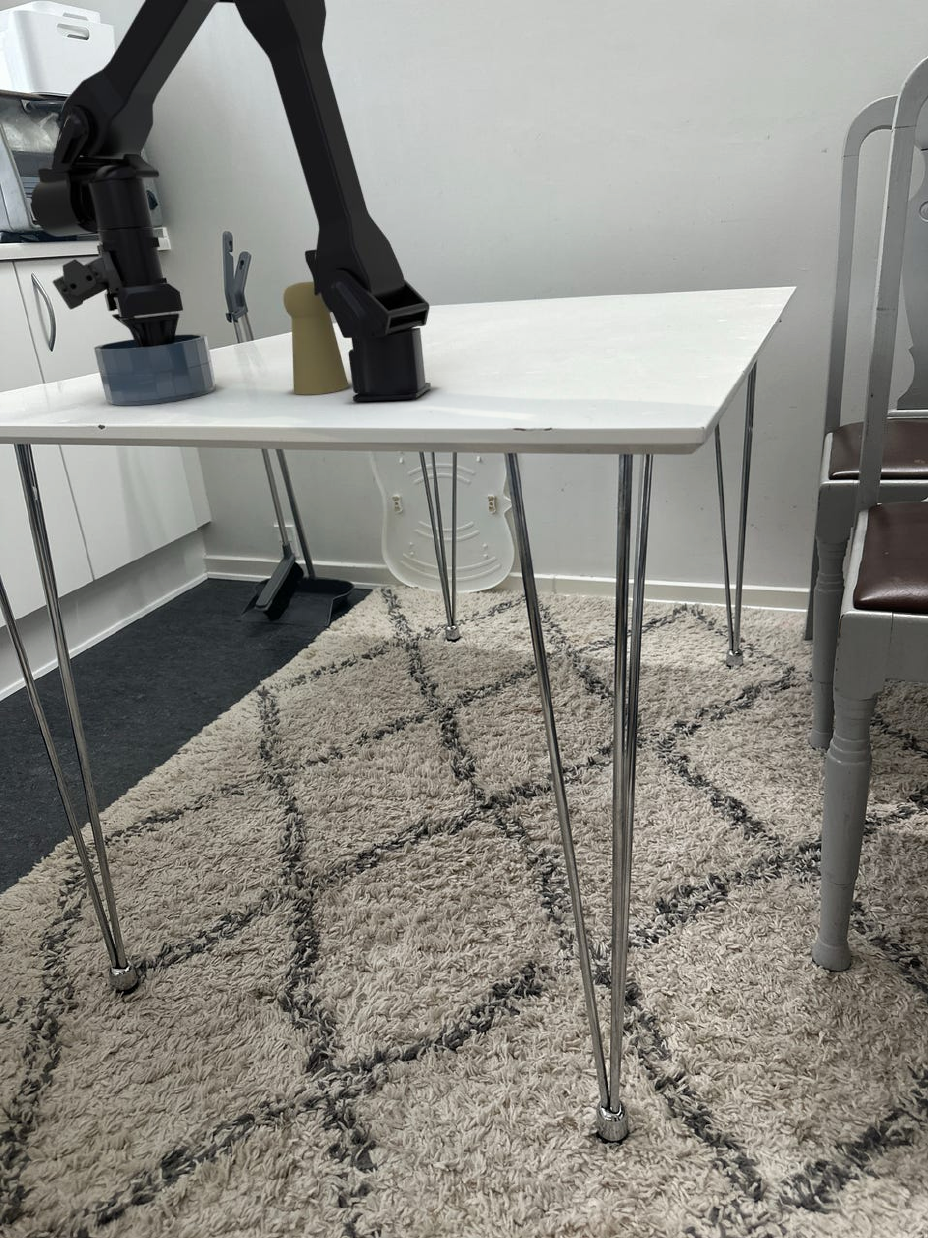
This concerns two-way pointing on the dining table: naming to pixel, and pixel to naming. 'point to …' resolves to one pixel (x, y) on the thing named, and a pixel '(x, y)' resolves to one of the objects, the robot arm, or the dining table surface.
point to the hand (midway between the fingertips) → (157, 377)
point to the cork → (313, 343)
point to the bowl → (155, 370)
